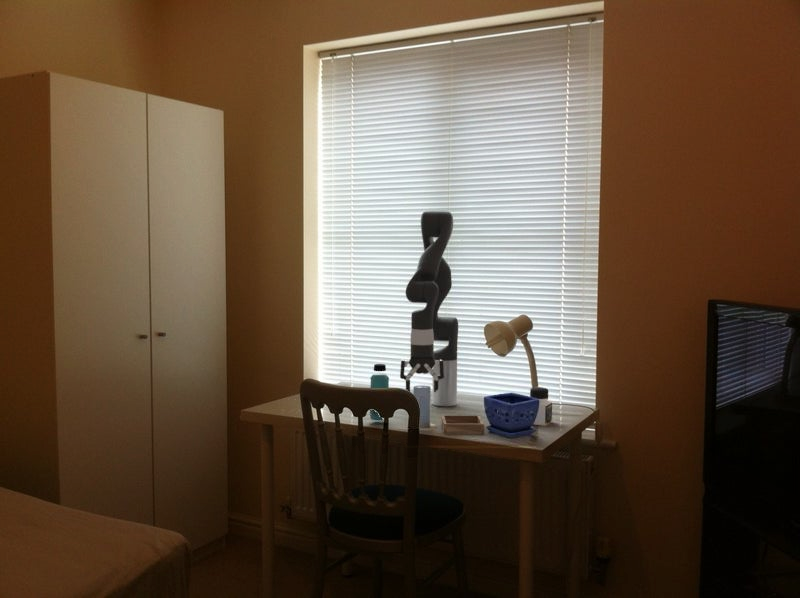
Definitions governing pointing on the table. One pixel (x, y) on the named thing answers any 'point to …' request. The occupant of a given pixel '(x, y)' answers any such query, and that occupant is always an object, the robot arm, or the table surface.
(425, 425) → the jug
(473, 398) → the table surface
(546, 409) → the medicine bottle
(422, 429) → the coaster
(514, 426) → the flower pot
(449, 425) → the tray
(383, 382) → the beverage bottle
